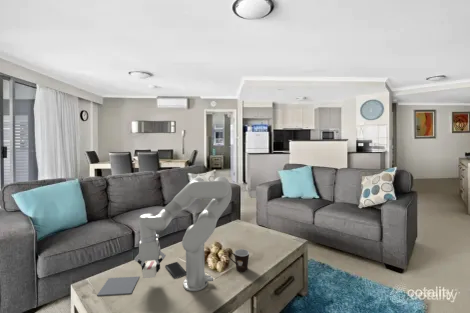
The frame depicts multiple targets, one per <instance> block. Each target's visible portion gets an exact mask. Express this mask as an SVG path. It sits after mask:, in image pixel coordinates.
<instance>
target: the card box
mask: <svg viewBox="0 0 470 313" xmlns="http://www.w3.org/2000/svg"><path fill="white" fill-rule="evenodd" d="M145 264H146V265H145V267H144V268H143V270H142V269H141V273H142V275H141V276H142V279H147V278H156V276H157V274H158V272H157V269H156V264H157V263H156V261H155V260H149V261H146V263H145Z"/></svg>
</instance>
